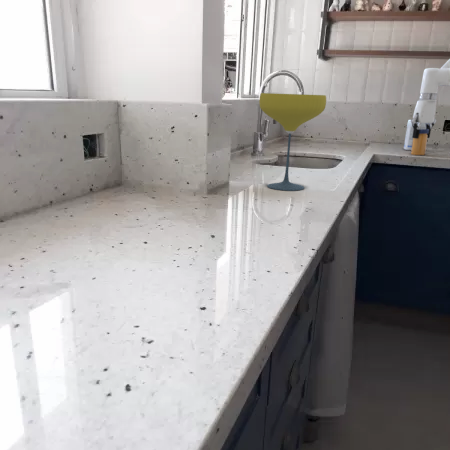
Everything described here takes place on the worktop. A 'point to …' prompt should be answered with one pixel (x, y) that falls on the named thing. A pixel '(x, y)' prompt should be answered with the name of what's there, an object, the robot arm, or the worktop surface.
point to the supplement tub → (410, 135)
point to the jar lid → (424, 131)
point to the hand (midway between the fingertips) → (420, 137)
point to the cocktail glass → (291, 120)
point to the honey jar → (419, 145)
